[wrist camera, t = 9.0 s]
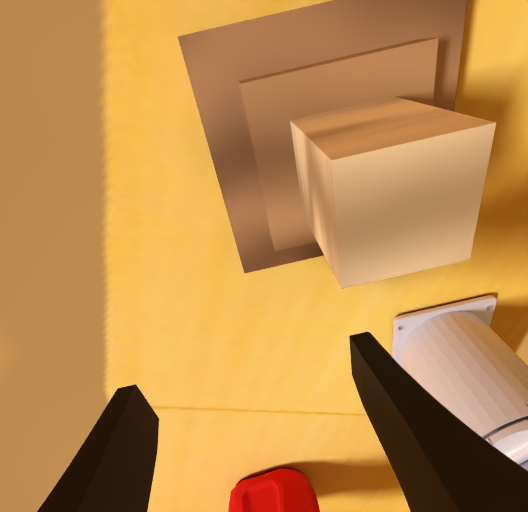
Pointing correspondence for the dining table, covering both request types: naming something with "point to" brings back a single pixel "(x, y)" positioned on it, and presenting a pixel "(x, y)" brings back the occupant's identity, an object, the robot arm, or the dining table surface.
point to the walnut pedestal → (307, 98)
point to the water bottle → (274, 493)
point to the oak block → (391, 186)
